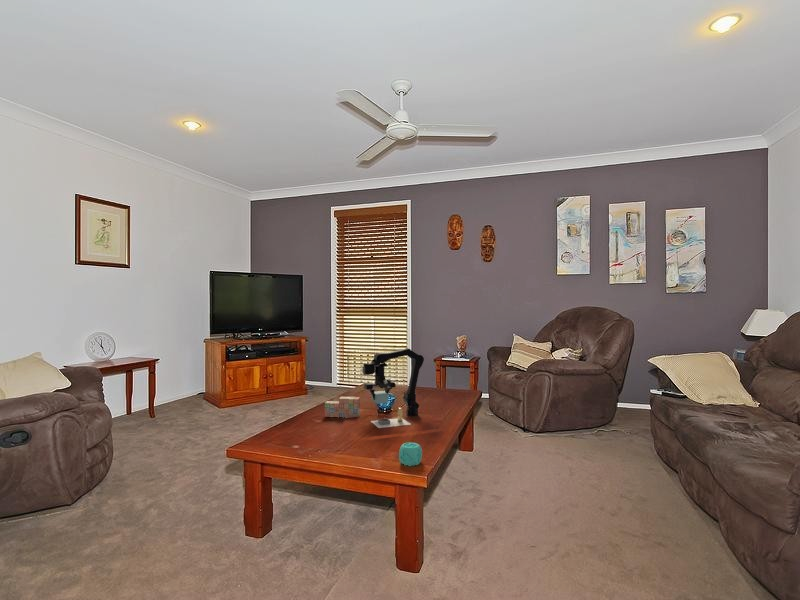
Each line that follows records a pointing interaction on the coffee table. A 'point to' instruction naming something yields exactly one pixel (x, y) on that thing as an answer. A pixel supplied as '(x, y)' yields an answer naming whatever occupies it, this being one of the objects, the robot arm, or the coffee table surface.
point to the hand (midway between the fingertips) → (379, 399)
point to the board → (389, 423)
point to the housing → (380, 397)
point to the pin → (400, 414)
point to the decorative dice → (410, 454)
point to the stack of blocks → (343, 407)
